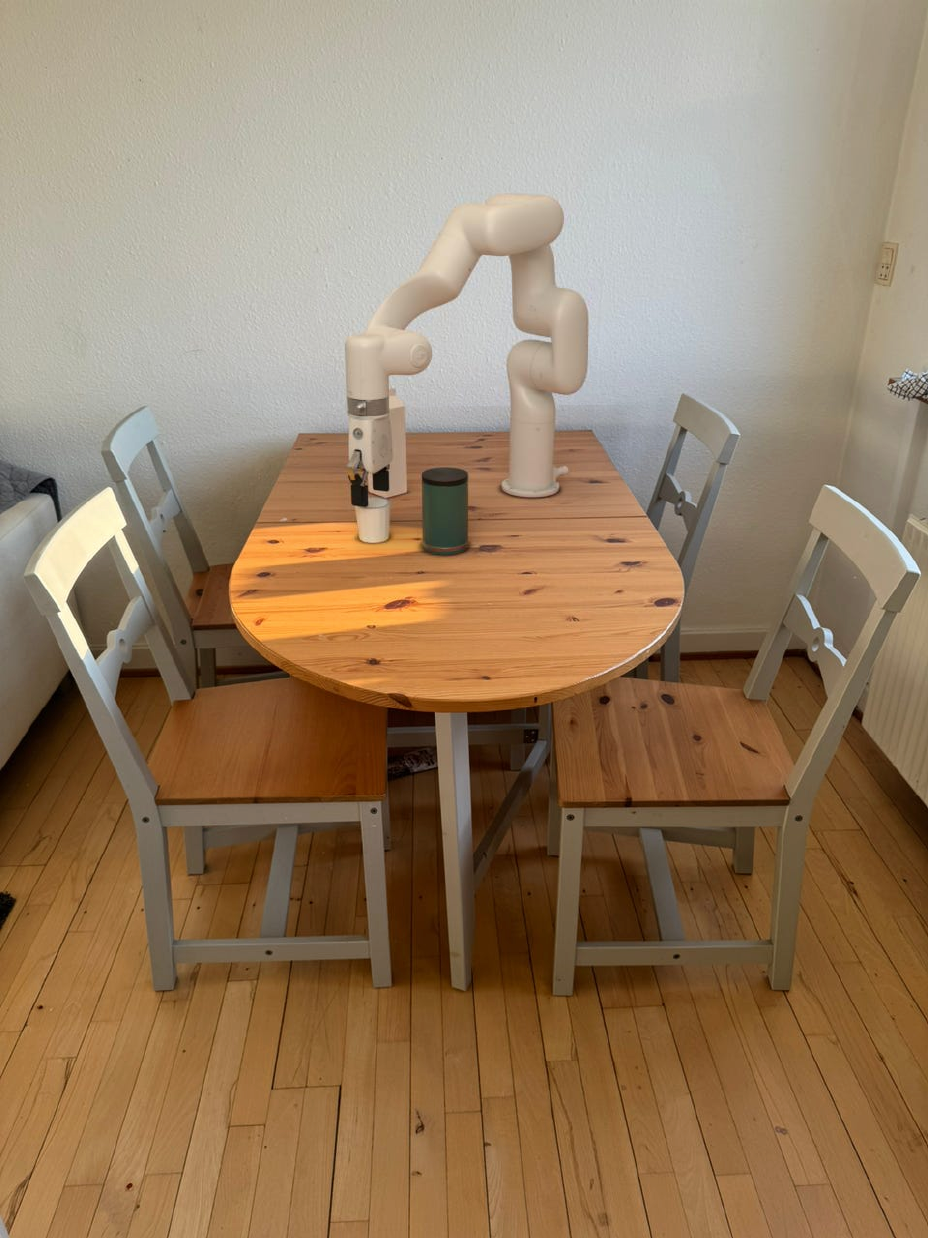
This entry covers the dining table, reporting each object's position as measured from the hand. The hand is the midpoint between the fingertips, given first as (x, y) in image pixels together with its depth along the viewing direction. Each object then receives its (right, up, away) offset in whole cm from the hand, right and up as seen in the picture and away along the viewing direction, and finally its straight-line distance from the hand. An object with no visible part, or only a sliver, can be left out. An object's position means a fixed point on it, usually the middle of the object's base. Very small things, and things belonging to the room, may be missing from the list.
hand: (370, 497), depth 176 cm
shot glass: (0, -7, +4) cm, 8 cm away
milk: (+1, +5, +28) cm, 29 cm away
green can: (+14, -9, 0) cm, 17 cm away
